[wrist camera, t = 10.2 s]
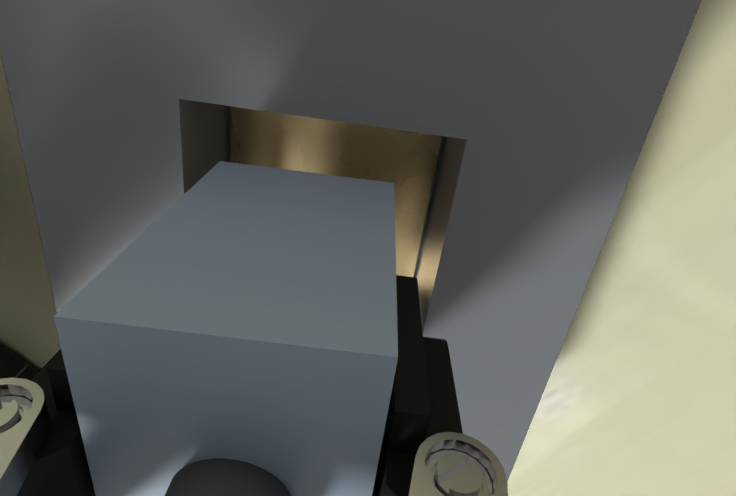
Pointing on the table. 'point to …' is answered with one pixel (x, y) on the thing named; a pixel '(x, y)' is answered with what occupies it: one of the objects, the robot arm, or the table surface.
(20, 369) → the portable radio
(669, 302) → the table surface
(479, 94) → the socket block
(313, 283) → the plug
